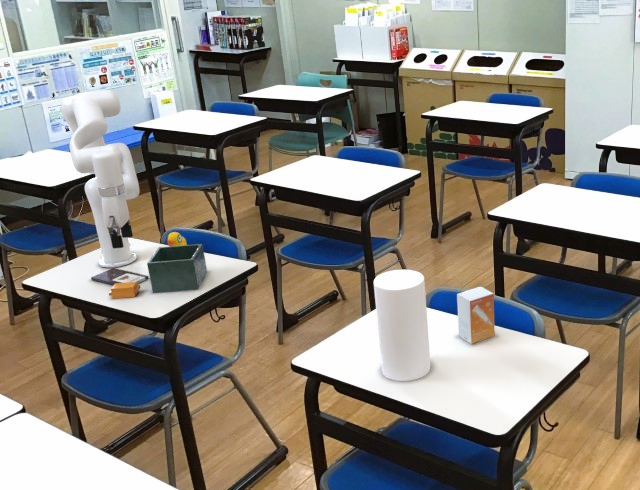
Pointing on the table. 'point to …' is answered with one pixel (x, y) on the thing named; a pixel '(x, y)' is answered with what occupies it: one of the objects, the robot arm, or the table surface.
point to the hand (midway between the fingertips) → (123, 242)
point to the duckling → (176, 239)
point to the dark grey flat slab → (118, 277)
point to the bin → (177, 268)
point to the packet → (124, 290)
